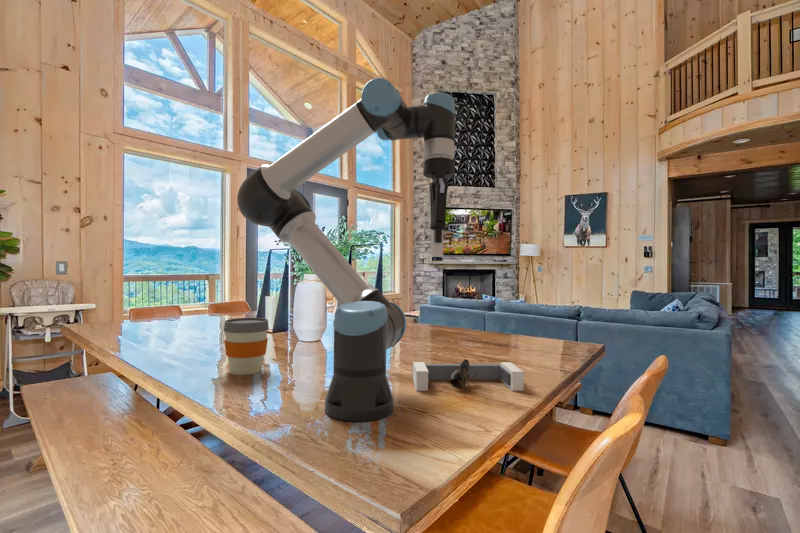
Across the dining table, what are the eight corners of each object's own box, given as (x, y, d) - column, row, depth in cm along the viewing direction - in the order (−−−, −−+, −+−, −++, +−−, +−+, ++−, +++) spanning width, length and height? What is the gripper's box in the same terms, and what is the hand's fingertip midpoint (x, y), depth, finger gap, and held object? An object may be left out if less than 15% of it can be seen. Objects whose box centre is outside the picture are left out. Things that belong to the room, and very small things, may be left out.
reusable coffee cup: (237, 364, 126) (238, 317, 126) (275, 366, 124) (276, 318, 124) (213, 375, 114) (214, 322, 114) (255, 377, 112) (256, 324, 112)
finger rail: (416, 390, 103) (416, 371, 103) (412, 377, 115) (412, 360, 115) (523, 390, 104) (523, 371, 104) (508, 377, 116) (508, 360, 116)
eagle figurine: (484, 385, 105) (474, 370, 114) (470, 364, 103) (462, 350, 112) (459, 400, 105) (451, 384, 114) (445, 379, 103) (439, 364, 112)
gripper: (459, 153, 92) (457, 256, 92) (449, 167, 105) (447, 257, 105) (426, 152, 91) (425, 255, 91) (420, 166, 104) (419, 256, 104)
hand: (437, 256), depth 98 cm, fingers closed
